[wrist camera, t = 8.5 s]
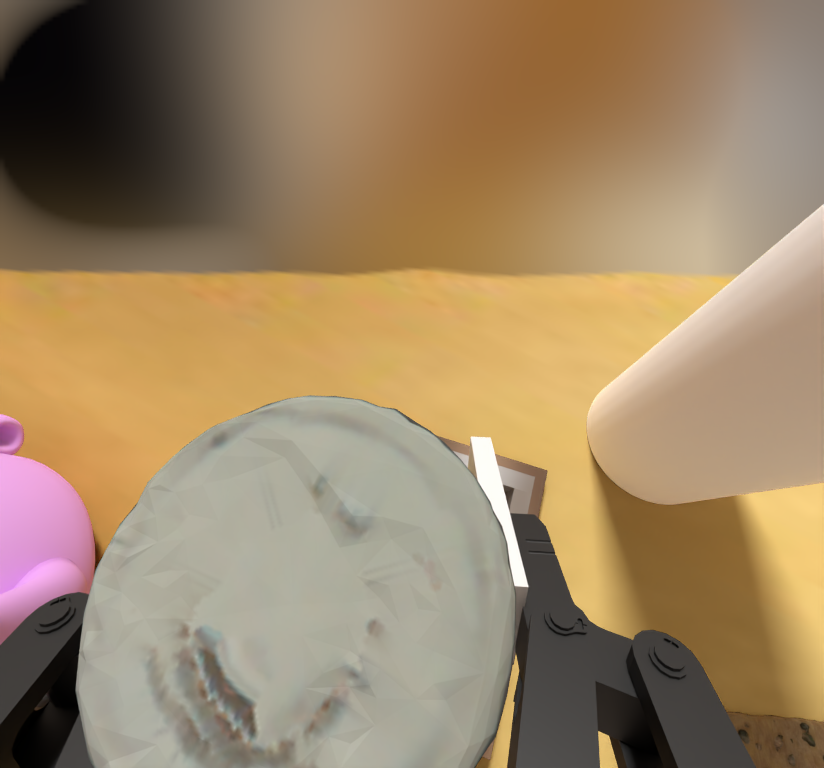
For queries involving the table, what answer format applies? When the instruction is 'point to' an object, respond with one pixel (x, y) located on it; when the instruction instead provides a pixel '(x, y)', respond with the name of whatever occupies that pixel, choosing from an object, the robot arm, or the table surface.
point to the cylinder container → (727, 388)
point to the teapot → (38, 534)
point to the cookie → (781, 740)
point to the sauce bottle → (301, 602)
